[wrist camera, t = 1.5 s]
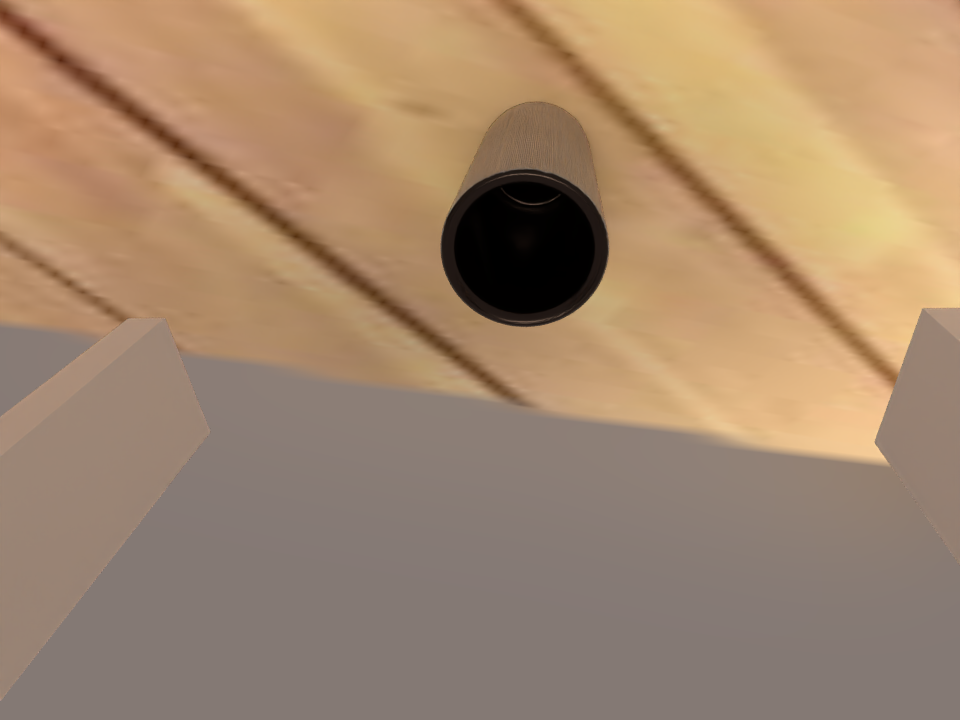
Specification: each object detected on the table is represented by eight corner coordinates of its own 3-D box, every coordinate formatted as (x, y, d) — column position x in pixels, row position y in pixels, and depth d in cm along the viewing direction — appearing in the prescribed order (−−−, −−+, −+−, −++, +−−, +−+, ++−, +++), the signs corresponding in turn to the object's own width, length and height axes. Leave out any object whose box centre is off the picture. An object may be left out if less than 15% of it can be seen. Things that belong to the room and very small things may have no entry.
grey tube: (459, 171, 25) (408, 269, 16) (524, 75, 23) (504, 130, 14) (543, 233, 26) (538, 356, 17) (613, 147, 24) (646, 239, 15)
